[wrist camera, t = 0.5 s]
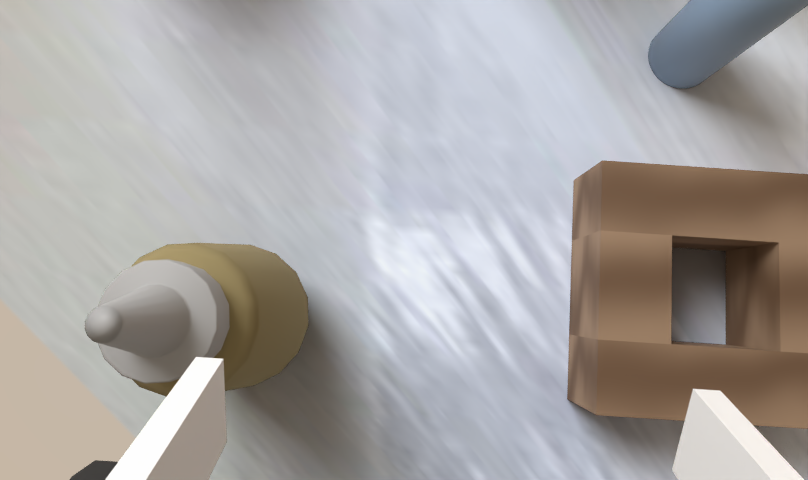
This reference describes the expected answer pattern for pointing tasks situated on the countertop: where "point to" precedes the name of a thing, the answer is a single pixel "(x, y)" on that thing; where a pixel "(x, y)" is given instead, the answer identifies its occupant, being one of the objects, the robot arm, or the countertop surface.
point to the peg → (713, 36)
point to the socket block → (652, 291)
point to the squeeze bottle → (201, 315)
